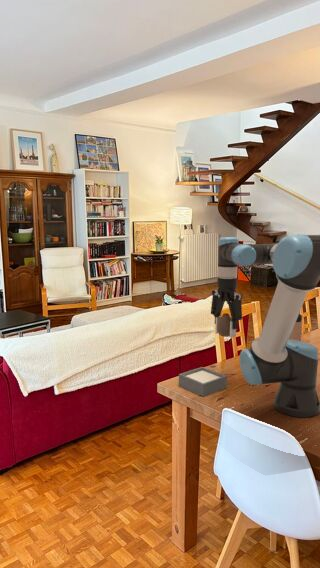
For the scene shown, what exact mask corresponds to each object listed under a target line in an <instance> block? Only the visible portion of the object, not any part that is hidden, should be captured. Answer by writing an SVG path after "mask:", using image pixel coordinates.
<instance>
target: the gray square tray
mask: <svg viewBox="0 0 320 568" xmlns="http://www.w3.org/2000/svg"><path fill="white" fill-rule="evenodd" d="M178 386H179V387H180V388H183V389H184V390H187V391H190V392H192V393H194V394H196V395H198V396H200V395H201V396H200V397H202V396H204V397H206V396H209V395H211V394H214V393H216V392H217V393H218V392H219V391H222V390H224V389H227V388H228V387H227V386H228V376H227V375H226V374H224V373H223V374H222V373H220V372H217V371H214V370H212V369H210V368H207V367H204V366H201V367H198V368H194V369H190V370H188V371H184V372H182V373H179V374H178Z"/></svg>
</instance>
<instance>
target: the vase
mask: <svg viewBox="0 0 320 568" xmlns="http://www.w3.org/2000/svg"><path fill="white" fill-rule="evenodd" d="M231 320H232V318H231V314H230V313H227V312H226V313H225V312H224V313H222V314H221V318H220V319H219V320H218V323H217V331H218V333H217V334H218V335H219V336H221V337H223V338H228V337H229V338H230V321H231Z"/></svg>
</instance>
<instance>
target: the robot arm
mask: <svg viewBox="0 0 320 568" xmlns="http://www.w3.org/2000/svg"><path fill="white" fill-rule="evenodd" d="M217 248H218V249H217V252H218V253H217V280H216V281H217V283H216V286H217V289H213V290H211V295H212V297H211V300H212V301H211V305H210V306H211V307H210V308H211V309H210V314H211V315H212V316H214V325H215V333H214V334H216V335H217V334H219V333H218V331H217V323H218V320H219V319H220V318H221V317H222V311H223V308H224V305H225V303H226V304H227V305H228V309H229V315H230V317H231V318H232V320H231V321H230V336H229V338H231V339H232V338H236V336H237V329H238V322H239V321H241V320H243V310H242V309H243V308H242V307H243V306H242V298H243V294H240V293H239V294H238V293H237V290H236V289H237V287H238V278H237V277H238V266H239V267H250V266H252V265H255V266H257V265H272V268H273V270H274V273H275V277H276V279H277V280H278V283H277V285H276V288H275V291H274V294H273V296H272V300H271V302H270V305H269V308H268V312H267V314H266V316H265V320H264V323H263V325H262V329H261V332H260V334H259V337H256V338H254V339H253V340H252V342H251V346H250V347H249V349H248V348H245V349H242V350H241V351H240V353H239V366H240V371H241V374H242V376H243V378H244V380H245V381H246V382H247V383H248V384H249V385H252V386H258V385H259V386H262V385H267V384H274V383H275V384H276V383H280V384H279V386H278V388H277V390H276V394H275V396H274V399H273V407H274V408H275V409H276V410H277V411H279V412H281V413H282V414H284V415H287V416H291V417H295V418H296V417H297V418H311V417H315V416H317V415H319V413H320V399H319V396H318V392H317V379H318V378H317V377H318V366H319V350H318V347H317V346H315V345H314V344H312V343H308V342H306V341H302V340H301V341H298V340H289V337H290V335H291V332H292V330H293V327H294V325H295V322H296V320H297V317H298V315H299V314H300V312H301V310H302V307H303V305H304V302H305V301H306V298H307V295H308V294H309V293H308V292H310V291H313V290H315V289H316V288H317V285H318V283H319V281H320V234H302V233H301V234H300V233H299V234H293V235H287V236H285V237H283V238H282V239H280V240H279V242H278V243H259V244H258V243H244V244H243V243H242V244H241V243H239V238H238V237H235V236H234V237H233V236H231V237H229V236H223V237H222V236H221V237H220V238H219V239H218V246H217Z"/></svg>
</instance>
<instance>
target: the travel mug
mask: <svg viewBox="0 0 320 568" xmlns="http://www.w3.org/2000/svg"><path fill="white" fill-rule="evenodd" d="M302 321H303V316H302V314H300V313H299V315H298V317H297V320H296V322H295V325H294V327H293V330H292V332H291V335H290V337H289V340H298V341H302V325H303V324H302V323H303V322H302Z"/></svg>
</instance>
